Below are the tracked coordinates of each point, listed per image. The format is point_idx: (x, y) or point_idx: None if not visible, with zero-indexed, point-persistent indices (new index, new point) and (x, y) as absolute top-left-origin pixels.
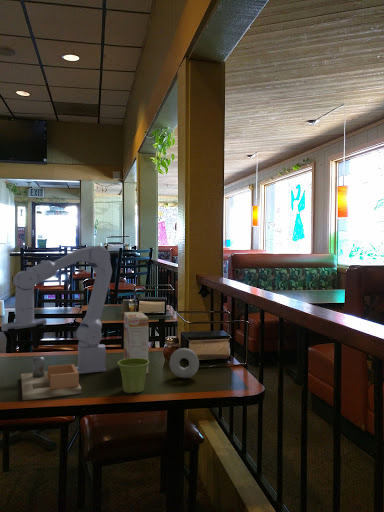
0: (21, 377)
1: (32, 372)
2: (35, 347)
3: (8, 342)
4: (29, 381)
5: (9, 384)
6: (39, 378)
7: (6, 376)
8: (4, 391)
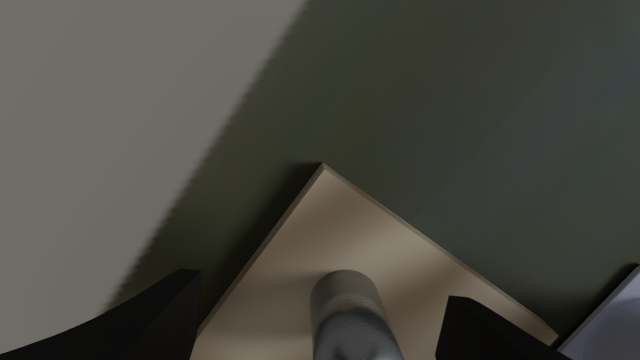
0: (299, 197)
1: (316, 299)
2: (442, 343)
3: (102, 318)
4: (246, 341)
5: (209, 200)
6: None
7: (303, 28)
8: (120, 283)
